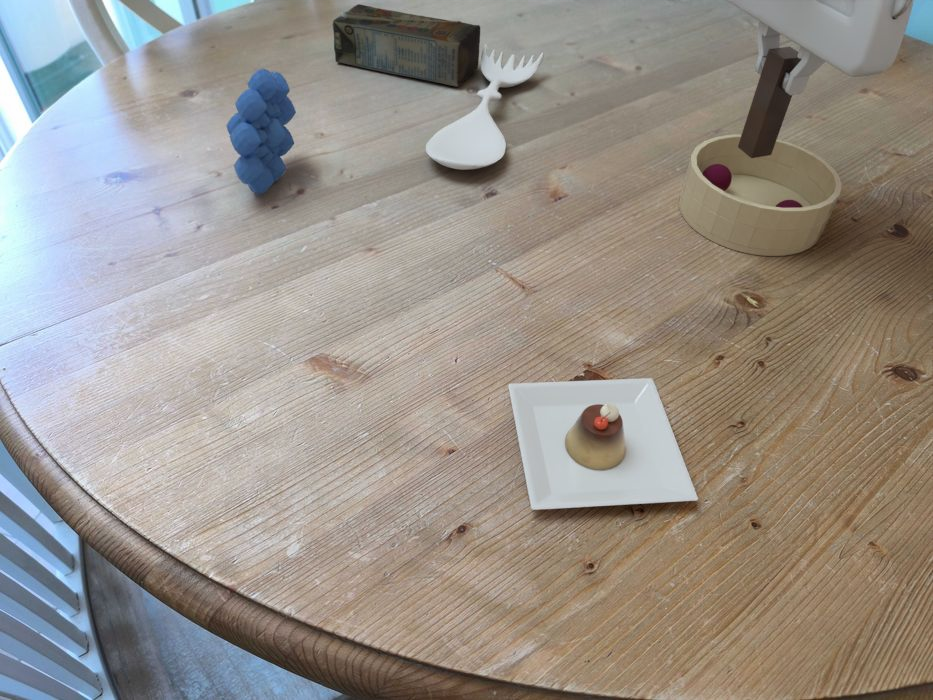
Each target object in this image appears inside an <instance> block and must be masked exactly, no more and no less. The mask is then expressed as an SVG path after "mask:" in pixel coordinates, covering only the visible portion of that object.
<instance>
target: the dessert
mask: <svg viewBox="0 0 933 700" xmlns="http://www.w3.org/2000/svg"><path fill="white" fill-rule="evenodd" d="M507 387H508V393H509V397H510V402H511V408H512V414H513V420H514V423H515V429H516V434H517V439H518V440H517V441H518V446H519V450H520V451H519V452H520V457H521V461H522V466H523V472H524V476H525V482H526V488H527V493H528V498H529V503H530V508H531V510H532V511H536V510H537V511H539V510H556V509H572V508H573V509H574V508H589V507H607V506H624V505H640V504H642V505H644V504H659V503H660V504H661V503H676V502H677V503H678V502H695V501H698V500H699V497H698V494H697V492H696V489H695V486H694V484H693V481H692V479H691V475H690V473H689V471H688V468H687V465H686V463H685V460H684V457H683V455H682V453H681V450H680V447H679V445H678V441H677V439H676V437H675V434H674V431H673V428H672V426H671V423H670V420H669V418H668V415H667V413H666V410H665V408H664V405H663V402H662V400H661V397H660V394H659V392H658V389H657V387H656V384H655V382H654V379H653V378H652V377H643V378H642V377H641V378H620V379H619V378H618V379H591V380H569V381H545V382H544V381H543V382H541V381H540V382H518V383H509V384H508V385H507Z"/></svg>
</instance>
